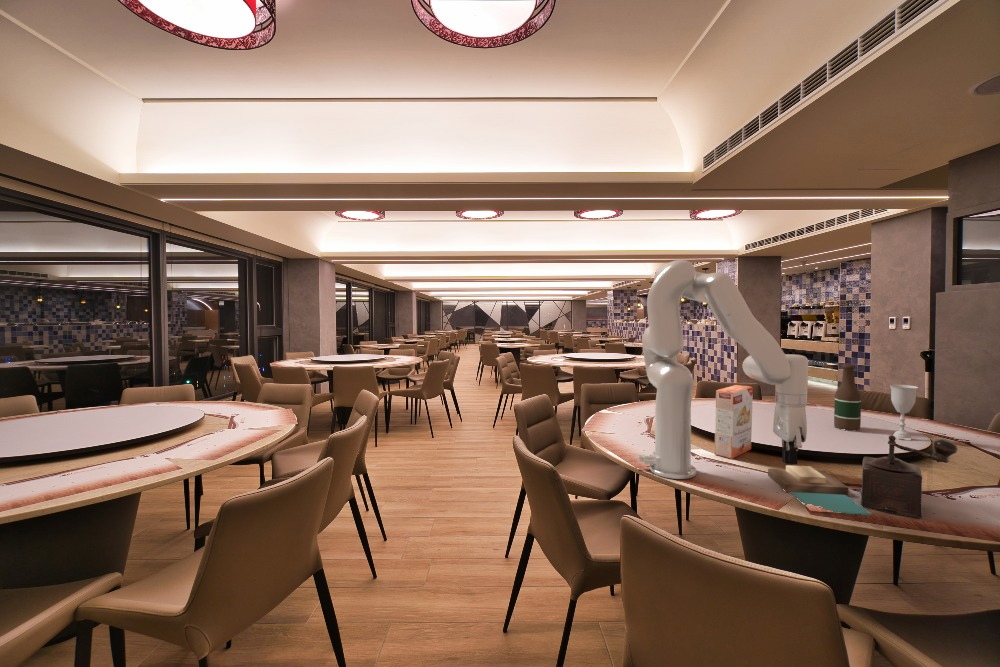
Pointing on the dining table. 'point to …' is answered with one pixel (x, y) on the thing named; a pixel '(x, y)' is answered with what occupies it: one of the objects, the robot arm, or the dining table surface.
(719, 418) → the cracker box
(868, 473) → the brown manual coffee grinder
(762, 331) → the robot arm
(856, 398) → the beer bottle
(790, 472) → the maple tile
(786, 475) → the board
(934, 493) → the dining table surface
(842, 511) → the teal mat
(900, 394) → the chalice
